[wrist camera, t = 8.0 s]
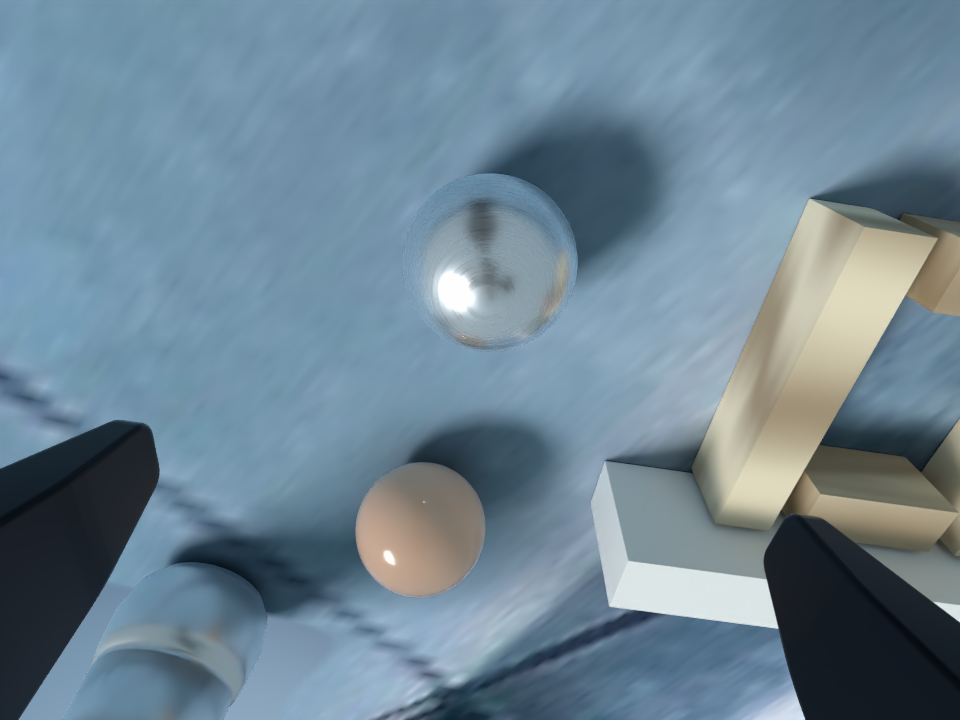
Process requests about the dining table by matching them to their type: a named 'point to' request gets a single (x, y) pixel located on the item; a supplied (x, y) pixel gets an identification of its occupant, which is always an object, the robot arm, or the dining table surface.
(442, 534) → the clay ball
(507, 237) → the steel ball
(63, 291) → the dining table surface
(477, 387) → the dining table surface
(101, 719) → the plastic bottle
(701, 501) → the stop block
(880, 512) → the beech collar
